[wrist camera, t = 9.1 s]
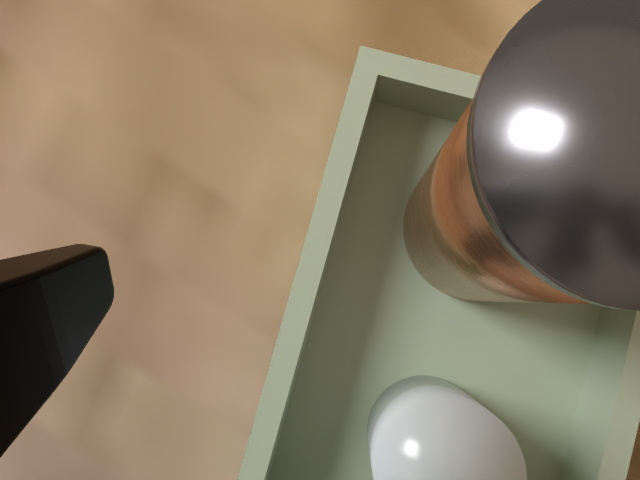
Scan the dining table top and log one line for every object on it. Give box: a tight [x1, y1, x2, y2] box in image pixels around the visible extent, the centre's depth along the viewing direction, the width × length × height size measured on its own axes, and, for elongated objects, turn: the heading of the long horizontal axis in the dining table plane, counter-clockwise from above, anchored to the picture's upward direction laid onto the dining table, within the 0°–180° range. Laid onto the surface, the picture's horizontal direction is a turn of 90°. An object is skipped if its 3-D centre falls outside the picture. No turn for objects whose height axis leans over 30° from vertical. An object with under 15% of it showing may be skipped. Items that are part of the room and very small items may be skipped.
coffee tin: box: [403, 0, 640, 311], centre depth 15 cm, size 5×5×12 cm
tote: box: [237, 46, 640, 480], centre depth 20 cm, size 16×11×3 cm
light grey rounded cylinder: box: [367, 375, 527, 480], centre depth 18 cm, size 4×4×5 cm
